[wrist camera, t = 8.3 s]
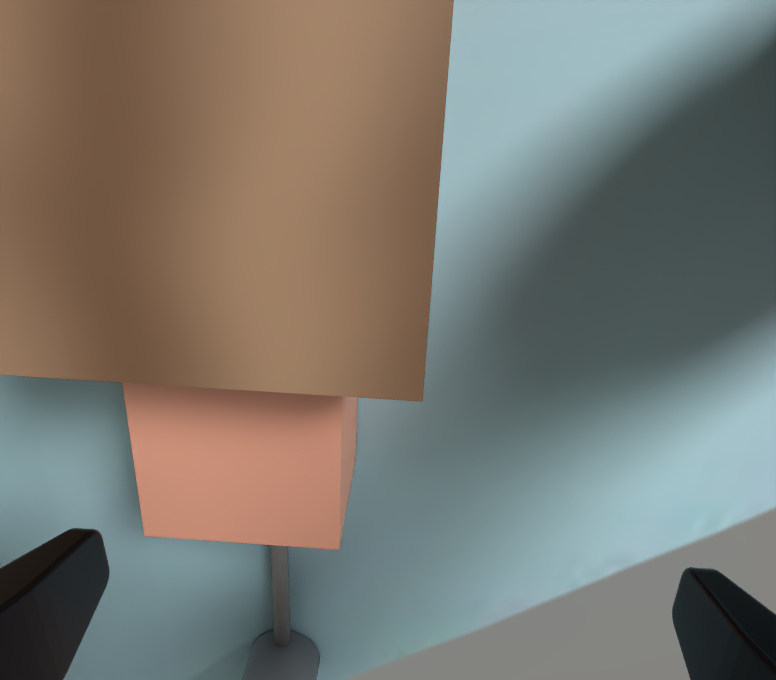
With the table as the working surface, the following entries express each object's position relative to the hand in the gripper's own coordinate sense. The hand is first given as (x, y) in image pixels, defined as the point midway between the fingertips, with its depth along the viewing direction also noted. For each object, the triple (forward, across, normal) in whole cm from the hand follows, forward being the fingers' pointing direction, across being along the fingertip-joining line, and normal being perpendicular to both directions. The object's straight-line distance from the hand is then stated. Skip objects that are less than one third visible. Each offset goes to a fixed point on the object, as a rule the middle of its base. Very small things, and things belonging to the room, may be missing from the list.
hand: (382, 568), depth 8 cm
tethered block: (+11, +5, +9) cm, 15 cm away
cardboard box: (+12, +4, -6) cm, 14 cm away
